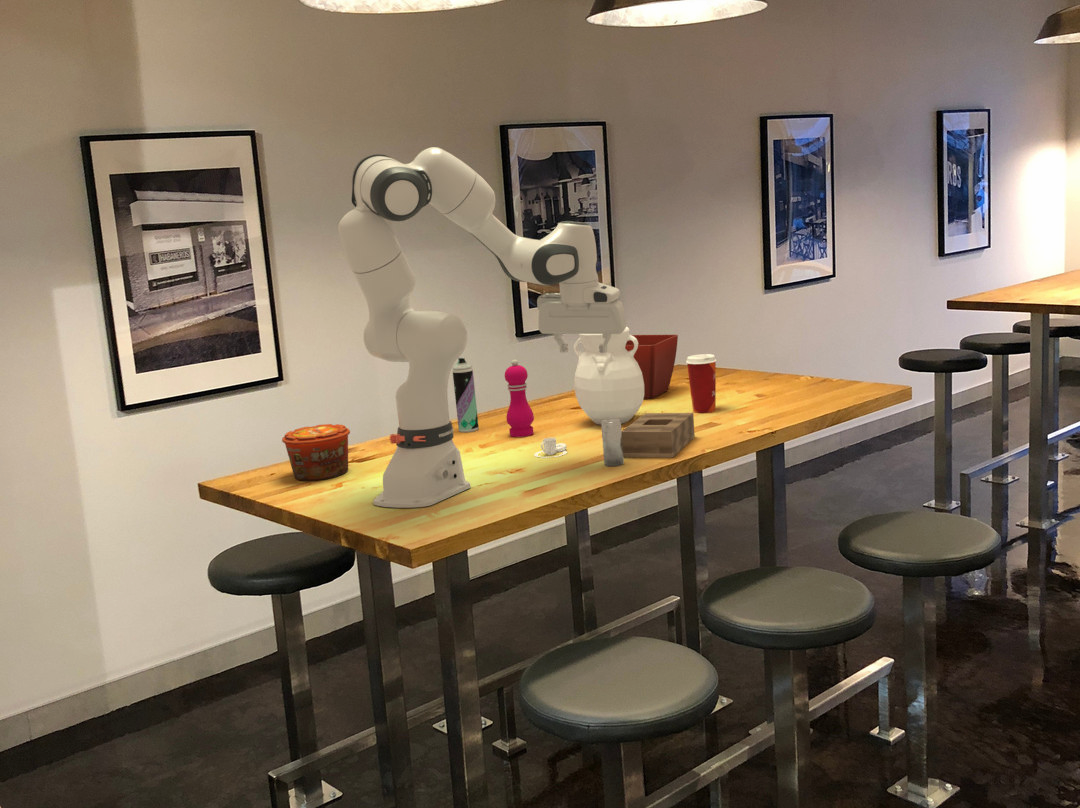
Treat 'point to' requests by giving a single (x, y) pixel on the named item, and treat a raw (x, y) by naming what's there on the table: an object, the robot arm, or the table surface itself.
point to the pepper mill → (518, 402)
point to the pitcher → (608, 378)
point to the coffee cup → (702, 382)
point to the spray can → (465, 396)
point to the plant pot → (655, 361)
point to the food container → (318, 451)
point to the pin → (612, 442)
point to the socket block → (658, 435)
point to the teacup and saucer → (551, 447)
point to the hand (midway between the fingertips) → (583, 352)
